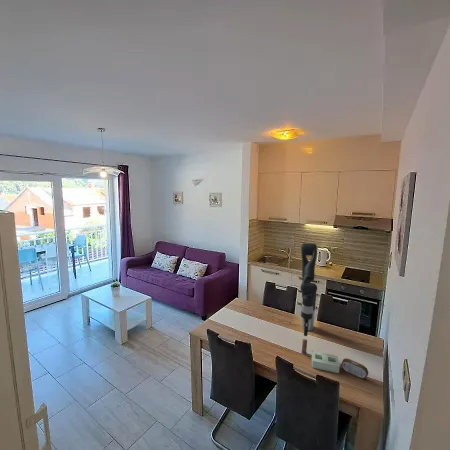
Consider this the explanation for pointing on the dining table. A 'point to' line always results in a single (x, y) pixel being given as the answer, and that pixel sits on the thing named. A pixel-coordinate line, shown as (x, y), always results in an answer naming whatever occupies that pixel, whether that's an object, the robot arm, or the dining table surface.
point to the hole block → (325, 362)
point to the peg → (304, 346)
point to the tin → (355, 368)
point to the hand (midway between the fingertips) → (305, 332)
